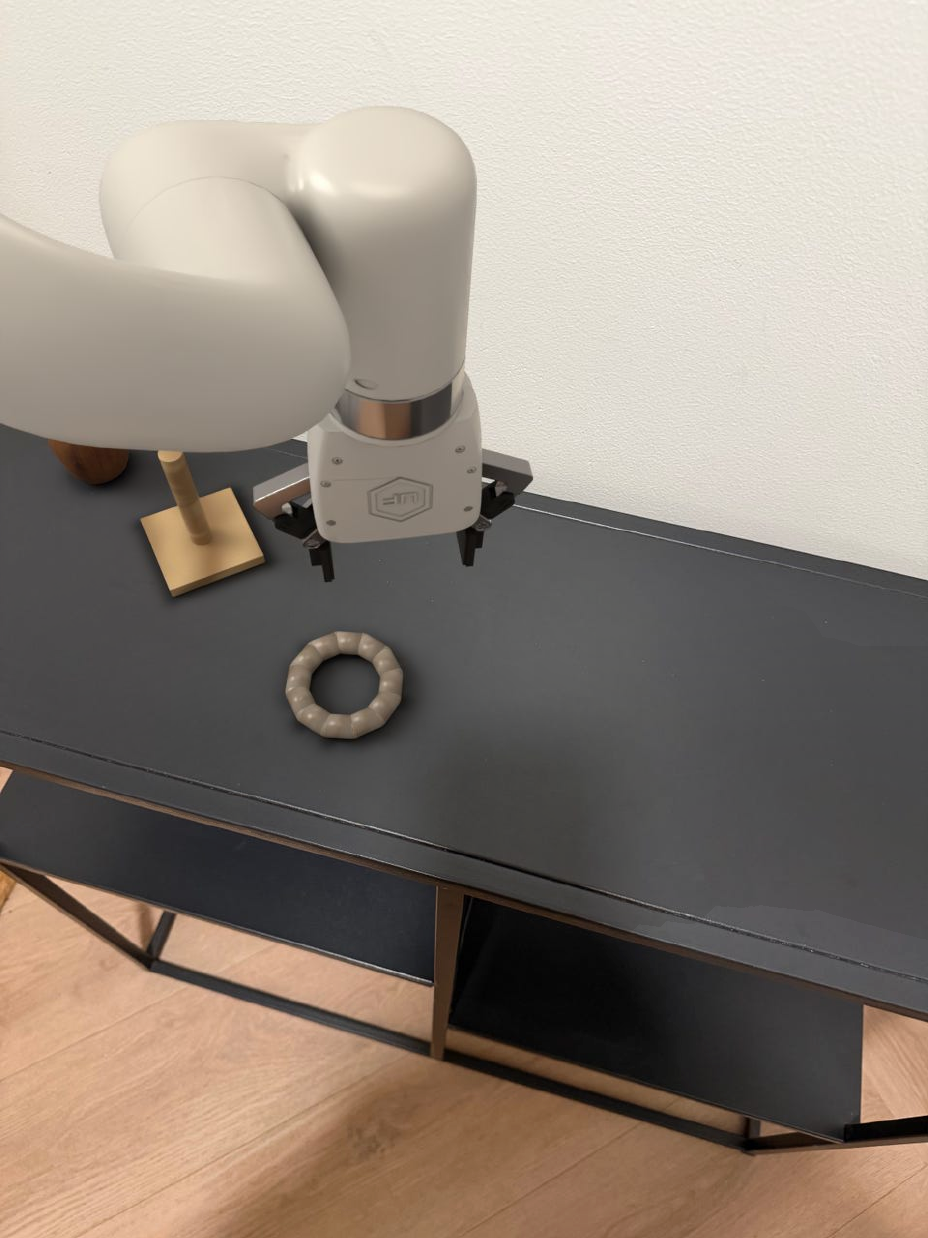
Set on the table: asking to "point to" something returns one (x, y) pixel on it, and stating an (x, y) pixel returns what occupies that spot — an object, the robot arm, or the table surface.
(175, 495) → the post
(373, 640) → the ring
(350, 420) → the robot arm
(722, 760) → the table surface
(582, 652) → the table surface
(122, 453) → the wooden figurine
